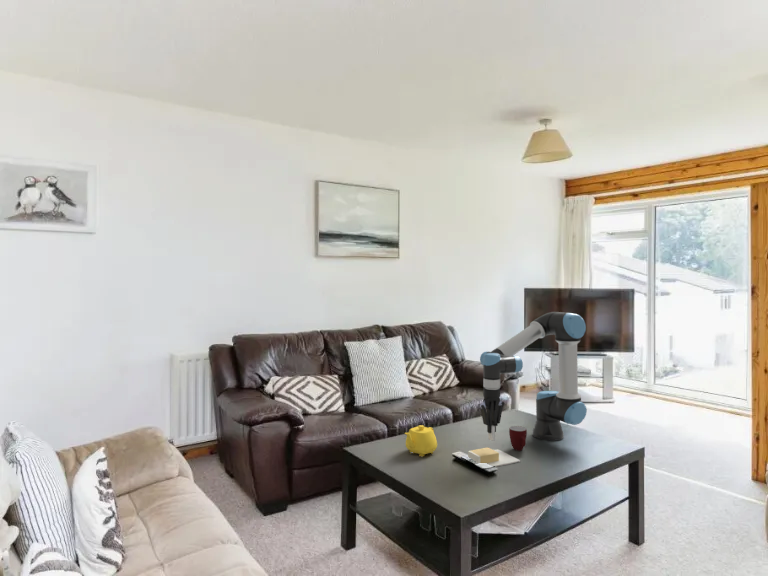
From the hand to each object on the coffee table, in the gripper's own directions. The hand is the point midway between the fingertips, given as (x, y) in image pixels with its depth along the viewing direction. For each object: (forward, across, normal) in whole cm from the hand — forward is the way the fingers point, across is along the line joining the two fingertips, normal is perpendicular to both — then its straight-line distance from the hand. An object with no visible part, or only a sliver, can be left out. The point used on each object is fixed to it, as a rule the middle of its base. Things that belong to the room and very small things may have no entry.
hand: (491, 439), depth 226 cm
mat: (+9, +1, 0) cm, 9 cm away
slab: (+7, -1, 0) cm, 7 cm away
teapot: (+9, +26, -21) cm, 34 cm away
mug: (+9, -19, -4) cm, 22 cm away
